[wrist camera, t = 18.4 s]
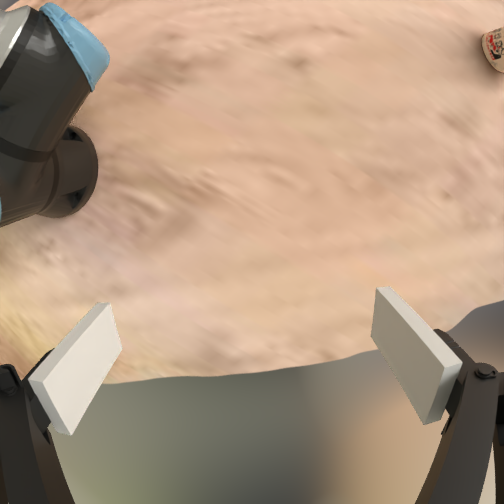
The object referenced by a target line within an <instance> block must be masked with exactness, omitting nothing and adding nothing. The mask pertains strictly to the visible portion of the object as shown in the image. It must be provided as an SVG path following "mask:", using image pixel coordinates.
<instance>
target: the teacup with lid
mask: <svg viewBox="0 0 504 504" xmlns="http://www.w3.org/2000/svg"><path fill="white" fill-rule="evenodd" d="M482 47H483V51H484V53H485V56H486V58H487V59H488V61H489V62H490V64H491V65H492V66H493V67H494V68H495V69H496V70H498V71H500V72H503V73H504V27H501V28H499V29H496V30H494V31H491V32H489V33H486V34H485V35H484V36H483V38H482Z"/></svg>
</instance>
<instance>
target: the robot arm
mask: <svg viewBox="0 0 504 504" xmlns="http://www.w3.org/2000/svg"><path fill="white" fill-rule="evenodd" d="M109 61H110V56H109V53H108V51H107V49H106V48H105V46H104V45H103V44H102V43H101V42H100V41H99V40H98V39H97V38H96V37H95V36H94V35H93V34H92V33H91V32H90V31H89V30H88V29H87V28H86V27H85V26H83V25H82V24H81V23H80V22H79V21H77V20H76V19H75V18H73V17H71V16H70V15H69V14H68V13H66V12H65V11H64V10H63V9H62V8H60V7H59V6H57V5H56V4H54V3H46V4H45V5H44V6H41V7H40V9H39V11H37V10H35V9H33V8H31V7H30V6H28V5H26V6H23V7H20V8H17V9H15V10H12V11H8V12H5V11H3V10H1V9H0V227H3V226H5V225H8V224H10V223H13V222H16V221H18V220H21V219H24V218H26V217H29V216H32V215H35V214H37V215H42V216H46V217H51V218H60V217H64V216H67V215H70V214H72V213H75V212H76V211H78V210H79V209H81V208H82V207H83V206H84V205H85V204H86V202H87V201H88V200H89V198H90V197H91V195H92V193H93V191H94V188H95V185H96V181H97V176H98V159H97V154H96V150H95V148H94V145H93V143H92V141H91V140H90V138H89V137H88V136H87V134H86V133H85V132H83V131H82V130H81V129H79V128H77V127H75V126H71V125H69V124H70V123H71V121H72V119H73V118H74V116H75V115H76V113H77V111H78V110H79V108H80V107H81V105H82V104H83V102H84V101H85V99H86V98H87V96H88V95H89V94H90V92H93V91H94V89H95V85H96V83H97V82H98V80H99V79H100V77H101V76H102V74H103V73H104V72H105V70H106V69H107V67H108V65H109ZM371 337H372V339H373V341H374V342H375V344H376V345H377V347H378V349H379V350H380V352H381V353H382V355H383V357H384V358H385V360H386V362H387V363H388V365H389V367H390V368H391V370H392V371H393V373H394V375H395V376H396V378H397V380H398V382H399V383H400V385H401V387H402V388H403V390H404V392H405V393H406V395H407V397H408V399H409V400H410V402H411V404H412V406H413V407H414V409H415V411H416V413H417V414H418V416H419V418H420V419H421V421H422V423H423V425H426V424H429V423H432V422H435V421H439V420H441V417H442V415H443V412H444V410H445V409H446V410H447V412H448V413H449V415H450V416H449V418H448V420H447V422H446V424H445V427H444V429H443V431H442V433H441V435H442V438H441V441H440V444H439V447H438V450H437V453H436V455H435V458H434V461H433V463H432V466H431V468H430V471H429V473H428V476H427V478H426V480H425V483H424V485H423V487H422V489H421V492H420V494H419V496H418V498H417V500H416V502H415V504H478V503H479V499H480V496H481V492H482V489H483V484H484V481H485V477H486V472H487V468H488V463H489V458H490V453H491V448H492V442H493V450H494V462H495V483H496V504H504V372H501V373H498V371H497V370H496V369H495V368H494V367H493V366H491V365H489V364H486V363H475V362H474V361H473V360H472V359H471V358H470V357H469V356H468V355H467V353H466V352H465V351H464V350H463V349H462V348H461V347H459V345H458V344H457V343H456V342H454V340H453V339H452V338H451V337H450V336H449V335H448V334H447V333H445V332H443V331H441V330H440V329H434V330H432V329H431V328H430V327H429V325H428V324H427V323H426V322H425V321H424V320H423V319H422V318H421V317H420V316H419V315H418V314H417V313H416V312H415V311H414V310H413V309H412V308H411V307H410V306H409V305H408V304H407V303H406V302H405V301H404V300H403V299H402V298H401V297H400V296H399V295H398V294H397V293H396V292H395V291H394V290H393V289H392V288H391V287H390V286H388V287H379V288H376V295H375V305H374V314H373V323H372V331H371ZM122 349H123V348H122V345H121V341H120V338H119V334H118V331H117V327H116V323H115V320H114V316H113V312H112V308H111V304H110V303H97V304H96V305H95V306H94V307H93V308H92V309H91V310H90V311H89V312H88V313H87V314H86V315H85V316H84V317H83V318H82V319H81V320H80V321H79V323H78V324H77V325H76V326H75V327H74V328H73V329H72V330H71V331H70V332H69V333H68V334H67V335H66V336H65V338H64V339H63V340H62V341H61V342H60V343H59V344H58V345H57V346H56V347H55V348H53V349H52V350H50V351H49V352H47V353H46V354H45V355H44V356H43V357H42V358H41V359H40V361H38V363H37V364H36V365H35V367H33V368H32V369H31V371H30V372H29V373H28V374H27V375H26V376H25V377H24V379H23V380H22V381H21V380H20V378H19V376H18V374H17V372H16V369H15V367H14V366H13V365H11V364H4V365H0V504H8V502H9V504H75V502H74V500H73V497H72V495H71V493H70V490H69V487H68V485H67V482H66V480H65V477H64V474H63V471H62V468H61V465H60V462H59V459H58V456H57V453H56V450H55V447H54V443H53V440H52V437H51V433H50V432H49V430H48V428H47V427H48V426H49V424H50V422H51V423H52V425H53V426H54V428H55V430H56V431H57V432H59V433H63V434H66V435H71V436H72V434H73V432H74V431H75V429H76V427H77V425H78V423H79V421H80V420H81V418H82V416H83V414H84V413H85V411H86V409H87V407H88V406H89V404H90V402H91V400H92V398H93V397H94V395H95V394H96V392H97V390H98V388H99V387H100V385H101V383H102V382H103V380H104V378H105V377H106V375H107V373H108V372H109V370H110V368H111V367H112V365H113V363H114V362H115V360H116V358H117V357H118V355H119V354H120V352H121V350H122Z"/></svg>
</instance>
